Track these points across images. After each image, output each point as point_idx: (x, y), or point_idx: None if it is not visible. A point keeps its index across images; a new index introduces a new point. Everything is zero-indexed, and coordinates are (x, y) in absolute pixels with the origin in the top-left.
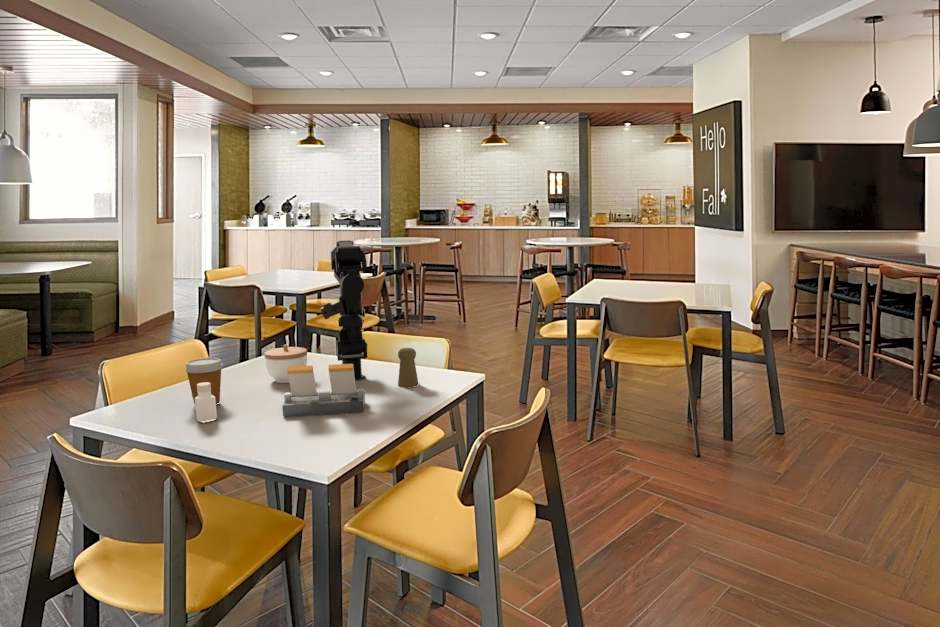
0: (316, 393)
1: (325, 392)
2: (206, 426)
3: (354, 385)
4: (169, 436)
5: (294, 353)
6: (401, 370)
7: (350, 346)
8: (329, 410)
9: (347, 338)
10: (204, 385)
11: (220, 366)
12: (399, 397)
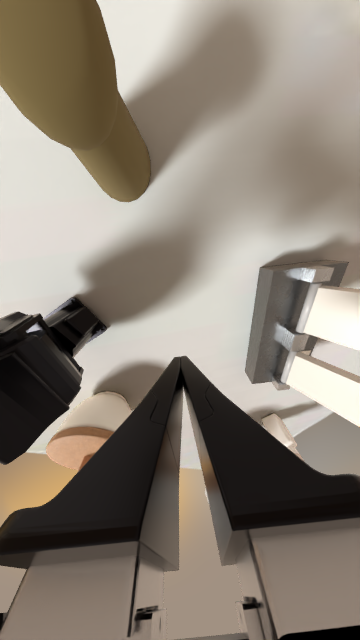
0: (297, 352)
1: (306, 340)
2: (288, 413)
3: (356, 289)
4: (304, 425)
5: None
6: (127, 162)
7: (58, 373)
8: None
9: (35, 406)
10: None
11: None
12: (240, 183)
